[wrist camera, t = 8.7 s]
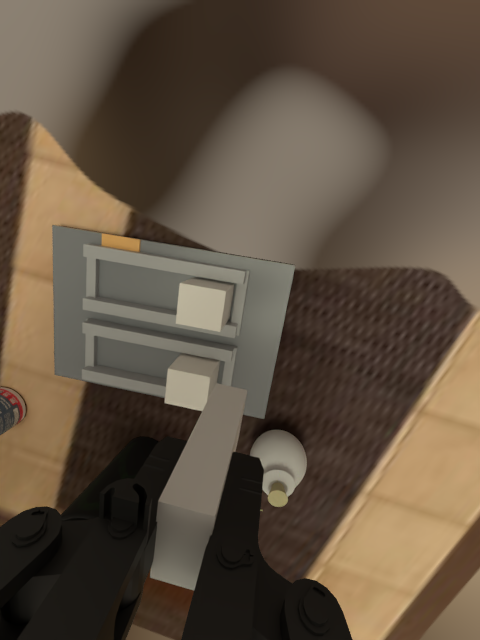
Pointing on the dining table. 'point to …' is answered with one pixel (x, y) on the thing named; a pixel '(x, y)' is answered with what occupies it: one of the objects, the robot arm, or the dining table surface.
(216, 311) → the tab
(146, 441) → the cup
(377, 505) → the dining table surface
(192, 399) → the tab
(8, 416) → the pill bottle
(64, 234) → the switch board
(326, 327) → the dining table surface
